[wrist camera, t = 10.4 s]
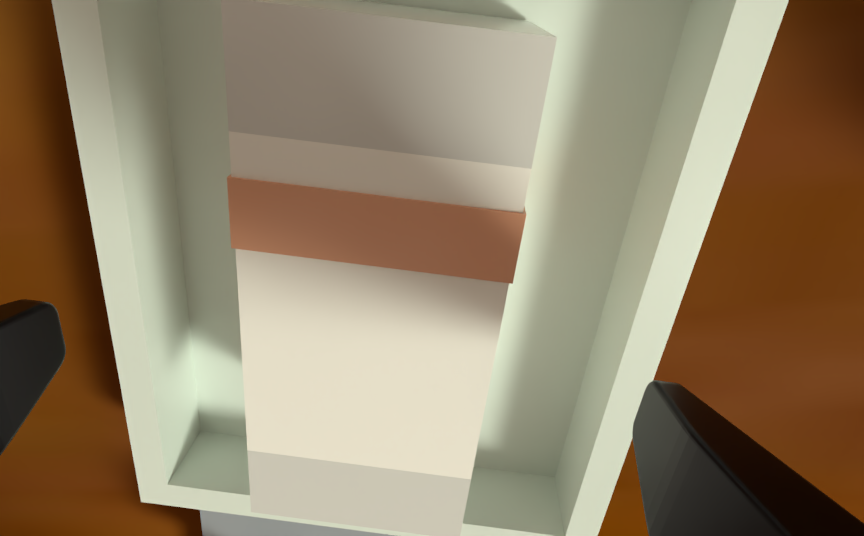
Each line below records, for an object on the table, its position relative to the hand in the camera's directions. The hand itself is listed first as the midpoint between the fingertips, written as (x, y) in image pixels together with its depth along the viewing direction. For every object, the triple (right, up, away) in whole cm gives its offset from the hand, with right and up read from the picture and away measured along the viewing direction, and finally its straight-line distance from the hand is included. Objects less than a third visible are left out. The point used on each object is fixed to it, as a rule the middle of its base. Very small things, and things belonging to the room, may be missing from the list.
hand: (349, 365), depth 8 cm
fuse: (0, +2, +5) cm, 5 cm away
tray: (0, +2, +5) cm, 6 cm away
